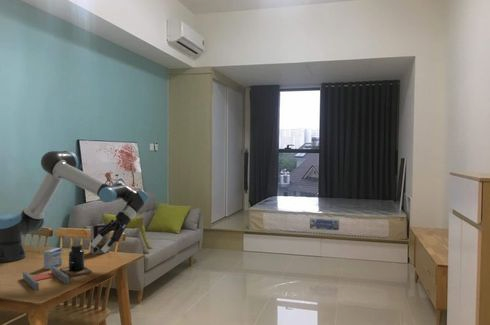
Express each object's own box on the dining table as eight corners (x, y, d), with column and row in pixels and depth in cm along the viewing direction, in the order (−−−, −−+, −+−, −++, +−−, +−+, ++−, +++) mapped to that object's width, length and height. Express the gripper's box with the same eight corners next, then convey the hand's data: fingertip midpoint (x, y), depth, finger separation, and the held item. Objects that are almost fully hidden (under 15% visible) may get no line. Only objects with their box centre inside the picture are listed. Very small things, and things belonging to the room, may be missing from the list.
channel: (23, 278, 179) (23, 272, 179) (54, 272, 188) (54, 266, 188) (35, 290, 164) (35, 283, 164) (68, 283, 173) (68, 276, 173)
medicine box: (51, 269, 192) (51, 252, 192) (43, 268, 193) (43, 251, 193) (62, 264, 200) (61, 248, 200) (54, 264, 201) (54, 247, 201)
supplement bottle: (67, 272, 185) (67, 247, 184) (70, 268, 191) (69, 244, 191) (83, 271, 187) (83, 246, 186) (85, 267, 193) (85, 243, 193)
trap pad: (29, 278, 179) (29, 277, 179) (50, 273, 186) (50, 273, 186) (32, 281, 175) (32, 280, 175) (54, 277, 181) (54, 276, 181)
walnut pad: (60, 270, 191) (60, 268, 191) (81, 266, 198) (81, 264, 198) (70, 277, 181) (70, 275, 181) (91, 272, 188) (91, 270, 188)
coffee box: (93, 254, 220) (93, 226, 219) (90, 252, 225) (90, 224, 224) (109, 252, 226) (109, 224, 225) (105, 249, 231) (105, 222, 230)
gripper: (141, 223, 198) (113, 258, 188) (120, 216, 216) (93, 248, 207) (131, 214, 194) (102, 249, 184) (110, 208, 212) (82, 239, 203)
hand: (97, 248), depth 195 cm, fingers open, 13 cm apart
